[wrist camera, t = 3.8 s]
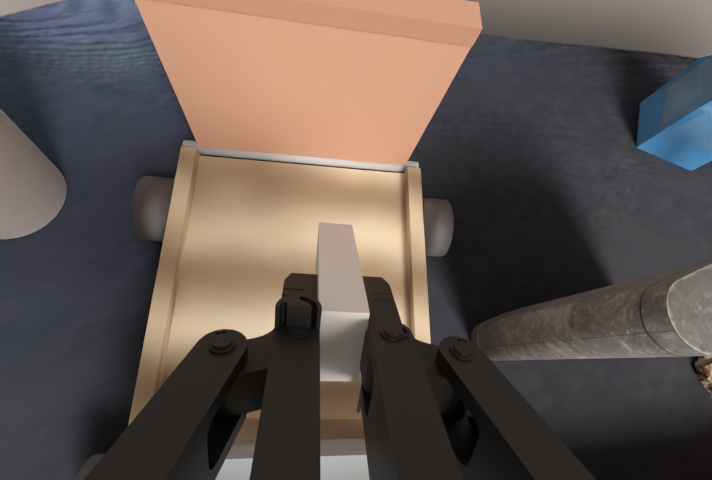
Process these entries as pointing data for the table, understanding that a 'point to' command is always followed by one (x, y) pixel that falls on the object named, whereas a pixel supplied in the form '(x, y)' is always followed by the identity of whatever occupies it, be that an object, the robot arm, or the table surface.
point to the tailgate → (311, 74)
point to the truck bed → (275, 270)
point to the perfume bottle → (680, 118)
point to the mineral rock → (705, 371)
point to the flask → (610, 321)
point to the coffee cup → (26, 184)
